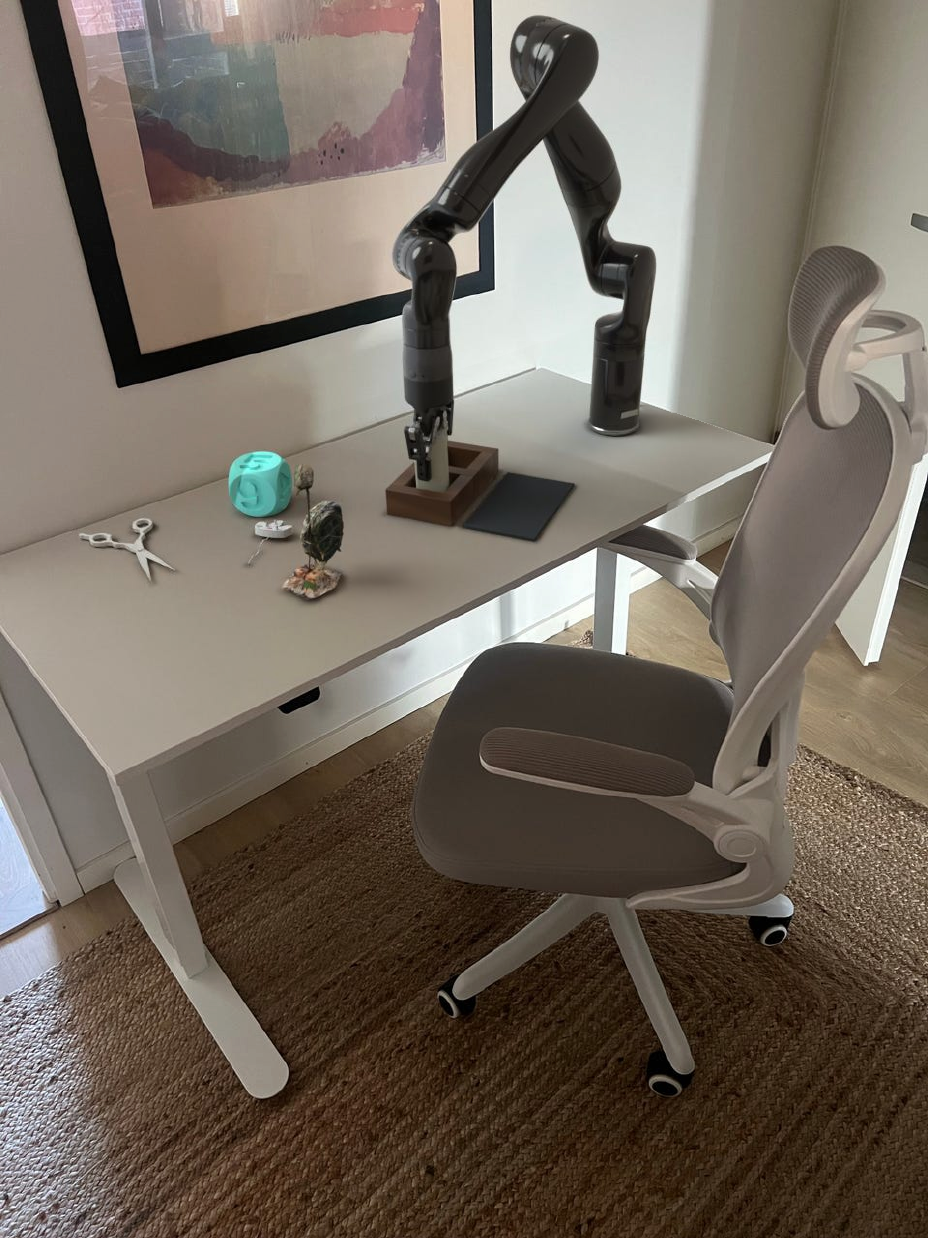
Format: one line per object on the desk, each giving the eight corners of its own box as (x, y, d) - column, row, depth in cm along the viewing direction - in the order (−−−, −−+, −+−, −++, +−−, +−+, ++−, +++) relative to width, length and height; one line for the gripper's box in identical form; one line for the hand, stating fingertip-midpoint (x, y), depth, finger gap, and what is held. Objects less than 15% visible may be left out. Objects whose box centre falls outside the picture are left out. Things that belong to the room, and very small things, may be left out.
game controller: (294, 526, 157) (292, 511, 155) (286, 564, 148) (284, 549, 146) (258, 527, 157) (256, 512, 155) (248, 565, 147) (246, 550, 146)
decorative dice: (294, 495, 166) (288, 452, 161) (280, 518, 159) (273, 473, 155) (248, 493, 167) (241, 449, 162) (232, 516, 160) (224, 471, 156)
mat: (507, 474, 171) (507, 471, 170) (574, 485, 167) (574, 483, 166) (462, 527, 156) (462, 525, 155) (534, 541, 152) (534, 538, 151)
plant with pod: (366, 576, 144) (355, 450, 133) (304, 607, 138) (287, 478, 126) (331, 556, 149) (317, 433, 138) (269, 586, 143) (250, 459, 131)
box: (450, 498, 164) (448, 426, 156) (447, 511, 160) (445, 437, 153) (419, 497, 164) (415, 425, 157) (415, 510, 161) (411, 437, 153)
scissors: (143, 513, 160) (197, 561, 147) (144, 517, 160) (198, 566, 147) (78, 534, 154) (128, 586, 141) (79, 538, 155) (130, 591, 142)
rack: (438, 461, 175) (437, 438, 173) (498, 472, 172) (498, 448, 169) (386, 514, 160) (385, 489, 157) (451, 526, 156) (450, 501, 153)
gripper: (431, 390, 143) (435, 495, 152) (469, 357, 153) (470, 457, 163) (384, 384, 145) (391, 487, 155) (425, 352, 156) (429, 450, 165)
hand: (432, 471), depth 159 cm, fingers closed on box, 5 cm apart
